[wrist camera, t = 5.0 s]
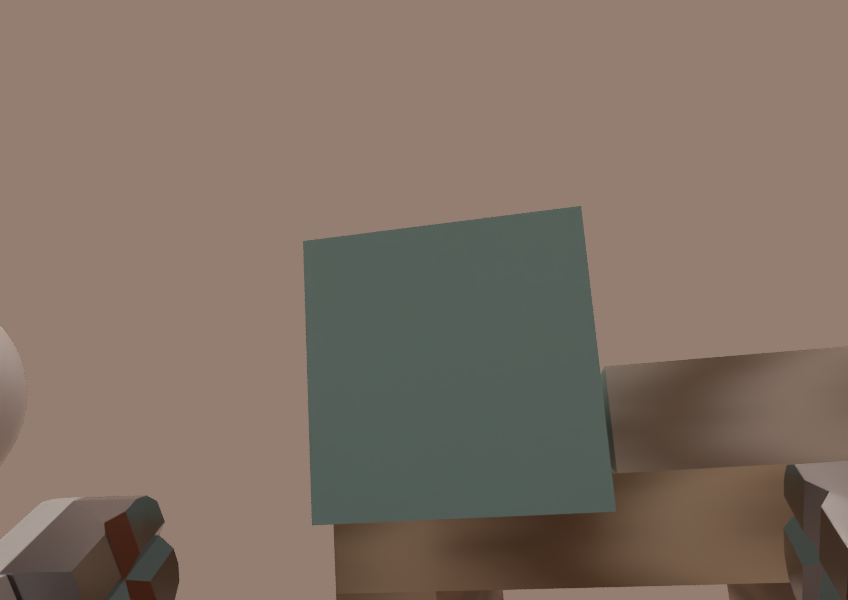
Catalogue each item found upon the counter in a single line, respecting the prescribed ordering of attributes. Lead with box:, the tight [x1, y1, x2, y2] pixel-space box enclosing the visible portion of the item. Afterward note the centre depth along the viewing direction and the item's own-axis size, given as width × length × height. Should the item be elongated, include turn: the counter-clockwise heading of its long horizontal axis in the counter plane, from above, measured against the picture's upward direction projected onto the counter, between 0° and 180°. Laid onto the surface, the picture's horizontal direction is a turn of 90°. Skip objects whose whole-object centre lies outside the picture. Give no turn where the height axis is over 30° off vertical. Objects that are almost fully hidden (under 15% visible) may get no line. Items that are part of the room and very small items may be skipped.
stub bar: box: [303, 206, 616, 525], centre depth 19 cm, size 4×20×4 cm, turn 168°
